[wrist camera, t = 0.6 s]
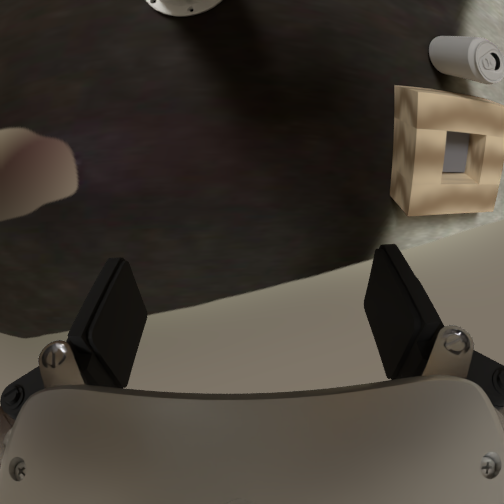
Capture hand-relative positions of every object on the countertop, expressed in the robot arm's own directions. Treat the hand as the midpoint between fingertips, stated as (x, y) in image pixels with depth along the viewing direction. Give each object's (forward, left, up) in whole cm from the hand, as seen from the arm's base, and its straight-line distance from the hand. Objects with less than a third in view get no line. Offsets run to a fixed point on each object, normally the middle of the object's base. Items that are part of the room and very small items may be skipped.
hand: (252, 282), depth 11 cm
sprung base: (+5, +30, -32) cm, 44 cm away
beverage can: (-10, +30, -34) cm, 47 cm away
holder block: (+5, +30, -34) cm, 46 cm away
